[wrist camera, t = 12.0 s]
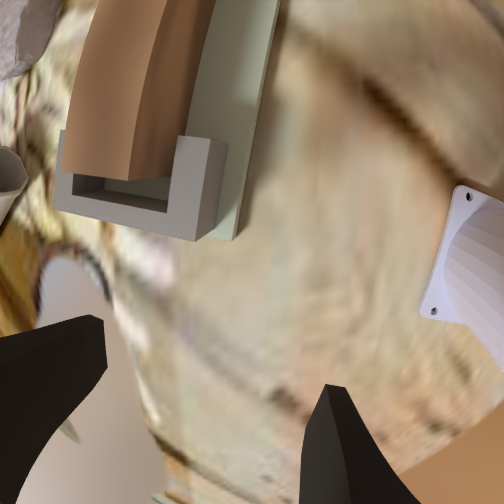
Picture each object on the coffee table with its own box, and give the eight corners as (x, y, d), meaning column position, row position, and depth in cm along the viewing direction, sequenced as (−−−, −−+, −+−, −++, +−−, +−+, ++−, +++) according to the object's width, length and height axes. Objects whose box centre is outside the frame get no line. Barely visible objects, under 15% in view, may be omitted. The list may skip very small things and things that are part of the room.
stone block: (58, 69, 18) (74, -27, 13) (16, 71, 14) (36, -35, 9) (-2, 90, 20) (7, 11, 15) (-36, 96, 16) (-25, 12, 11)
